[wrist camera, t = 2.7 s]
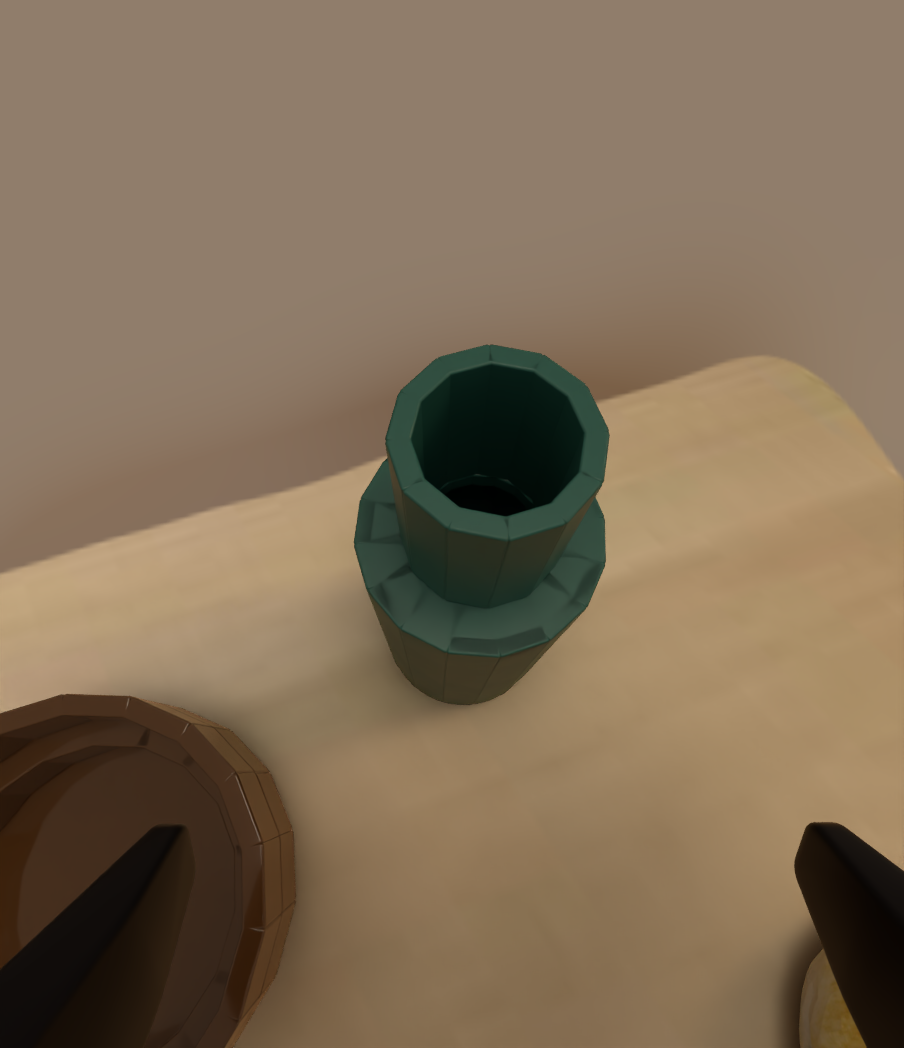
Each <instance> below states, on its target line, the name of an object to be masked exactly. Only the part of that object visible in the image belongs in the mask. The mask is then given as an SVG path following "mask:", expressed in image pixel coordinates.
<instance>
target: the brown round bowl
mask: <svg viewBox="0 0 904 1048" xmlns="http://www.w3.org/2000/svg"><path fill="white" fill-rule="evenodd" d="M158 824H184V825H186V827H187V828H188V831H189V835H190V839H191V844H192V849H193V853H194V858H195V863H196V871H195V878H194V883H193V886H192V890H191V894H190V897H189V901H188V905H187V908H186V912H185V916H184V919H183V923H182V927H181V930H180V934H179V938H178V941H177V945H176V949H175V952H174V956H173V960H172V963H171V967H170V970H169V974H168V978H167V981H166V985H165V988H164V992H163V995H162V998H161V1002H160V1005H159V1008H158V1010H157V1013H156V1016H155V1019H154V1022H153V1025H152V1027H151V1030H150V1033H149V1035H148V1038H147V1041H146V1043H145V1046H144V1048H233V1046H234V1045H235V1044H236V1042H237V1040H238V1039H239V1037H240V1035H241V1034H242V1032H243V1030H244V1029H245V1027H246V1025H247V1024H248V1022H249V1020H250V1019H251V1017H252V1015H253V1014H254V1012H255V1010H256V1009H257V1007H258V1005H259V1004H260V1002H261V1000H262V999H263V997H264V995H265V994H266V992H267V990H268V989H269V987H270V985H271V984H272V982H273V981H274V979H275V977H276V974H277V972H278V968H279V964H280V960H281V957H282V953H283V949H284V945H285V941H286V938H287V934H288V930H289V926H290V922H291V919H292V915H293V911H294V907H295V903H296V884H295V860H294V836H293V831H291V830H292V826H291V824H290V821H289V819H288V816H287V814H286V811H285V808H284V806H283V803H282V801H281V798H280V796H279V793H278V791H277V788H276V786H275V783H274V781H273V778H272V776H271V774H270V773H269V770H268V769H267V768H266V767H265V766H264V764H263V763H262V762H261V761H260V760H259V759H258V758H257V757H256V756H255V755H254V754H253V753H252V752H251V751H250V750H249V749H248V747H247V746H246V745H245V744H244V743H243V742H242V741H241V740H240V739H239V738H238V737H237V736H236V735H235V734H234V733H233V731H230V729H228V728H226V727H223V726H221V725H219V724H217V723H214V722H212V721H210V720H208V719H205V718H203V717H201V716H199V715H196V714H194V713H192V712H190V711H187V710H185V709H183V708H179V707H175V706H171V705H166V704H162V703H158V702H153V701H149V700H145V699H140V698H136V697H132V696H113V695H83V694H65V695H58V696H55V697H52V698H49V699H45V700H42V701H39V702H36V703H32V704H29V705H26V706H23V707H20V708H16V709H13V710H10V711H7V712H3V713H0V969H1V968H2V967H3V966H4V965H5V964H6V963H7V962H8V961H9V960H10V959H11V958H12V957H14V956H15V955H16V954H17V953H18V952H19V951H20V950H21V949H22V948H23V947H24V946H25V945H26V944H27V943H29V942H30V941H31V940H32V939H33V938H34V937H35V936H36V935H37V934H38V933H39V932H40V931H41V930H43V929H44V928H45V927H46V926H47V925H48V924H49V923H50V922H51V921H52V920H53V919H54V918H55V917H56V916H58V915H59V914H60V913H61V912H62V911H63V910H64V909H65V908H66V907H67V906H68V905H69V904H70V903H71V902H73V901H74V900H75V899H76V898H77V897H78V896H79V895H80V894H81V893H82V892H83V891H84V890H85V889H86V888H88V887H89V886H90V885H91V884H92V883H93V882H94V881H95V880H96V879H97V878H98V877H99V876H100V875H101V874H103V873H104V872H105V871H106V870H107V869H108V868H109V867H110V866H111V865H112V864H113V863H114V862H115V861H116V860H118V859H119V858H120V857H121V856H122V855H123V854H124V853H125V852H126V851H127V850H128V849H129V848H130V847H132V846H133V845H134V844H135V843H136V842H137V841H138V840H139V839H140V838H141V837H142V836H143V835H144V834H145V833H147V832H148V831H149V830H150V829H151V828H152V827H154V826H155V825H158Z"/></svg>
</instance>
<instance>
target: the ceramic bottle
mask: <svg viewBox="0 0 904 1048" xmlns="http://www.w3.org/2000/svg"><path fill="white" fill-rule="evenodd" d="M609 436H610V435H609V430H608V427H607V425H606V423H605V421H604V419H603V417H602V415H601V413H600V411H599V409H598V407H597V405H596V403H595V401H594V399H593V397H592V395H591V393H590V390H589V388H588V387H587V386H586V385H585V383H583V382H582V381H580V380H579V379H578V378H576V377H575V376H573V375H572V374H570V373H569V372H568V371H566V370H565V369H564V368H562V367H561V366H559V365H558V364H557V363H555V362H554V361H552V360H551V359H550V358H548V357H547V356H545V355H542V354H540V353H535V352H530V351H524V350H519V349H514V348H508V347H502V346H497V345H490V346H489V345H484V346H480V347H476V348H472V349H468V350H464V351H460V352H456V353H453V354H449V355H445V356H441V357H439V358H438V359H435V360H434V361H433V362H432V363H431V364H429V365H428V366H427V367H426V368H425V369H424V370H423V371H422V372H421V373H419V374H418V375H417V376H416V377H415V378H414V379H413V380H412V381H410V383H408V384H407V385H406V386H405V387H404V388H403V389H402V390H401V391H400V393H399V394H398V396H397V400H396V403H395V407H394V410H393V413H392V417H391V420H390V424H389V427H388V431H387V435H386V438H385V440H386V443H385V444H386V451H387V457H388V458H387V459H386V460H385V461H384V462H383V463H382V465H381V466H380V468H379V469H378V471H377V473H376V474H375V476H374V478H373V479H372V481H371V482H370V484H369V486H368V487H367V489H366V490H365V492H364V494H363V495H362V497H361V500H360V504H359V511H358V518H357V524H356V531H355V538H354V544H355V545H354V548H355V551H356V555H357V558H358V562H359V565H360V569H361V572H362V576H363V579H364V583H365V586H366V589H367V592H368V594H369V597H370V599H371V602H372V604H373V607H374V610H375V612H376V615H377V617H378V620H379V622H380V625H381V627H382V630H383V632H384V635H385V637H386V640H387V642H388V645H389V647H390V650H391V652H392V655H393V658H394V660H395V662H396V664H397V666H398V667H399V668H400V670H401V671H402V672H403V674H404V675H405V677H406V678H407V679H408V680H409V681H410V682H411V683H412V684H413V685H414V686H415V687H416V688H417V689H419V690H420V691H421V692H423V693H425V694H426V695H428V696H430V697H432V698H434V699H436V700H439V701H442V702H446V703H450V704H457V705H470V704H478V703H482V702H485V701H488V700H491V699H493V698H496V697H498V696H499V695H502V694H504V693H505V692H506V691H507V690H508V689H510V688H511V687H512V686H513V685H514V684H515V683H516V682H517V681H518V680H519V679H520V678H522V677H523V676H524V675H525V674H526V673H527V672H528V671H529V669H530V668H531V667H532V666H533V665H534V664H535V663H536V662H537V661H538V660H539V659H540V658H541V657H542V656H543V654H544V653H545V652H546V651H547V650H548V649H549V648H550V647H551V646H552V645H553V644H554V643H555V642H556V640H557V639H558V638H559V637H560V636H561V635H562V634H563V633H564V632H565V631H566V630H567V629H568V628H569V626H570V625H571V624H572V623H573V622H574V621H575V620H576V619H577V618H578V617H579V616H580V615H581V614H582V613H583V611H584V610H585V609H586V607H587V606H588V604H589V602H590V600H591V597H592V595H593V593H594V590H595V588H596V586H597V583H598V581H599V579H600V576H601V574H602V572H603V569H604V567H605V562H606V553H605V519H604V515H603V513H602V511H601V509H600V507H599V504H598V502H597V500H596V498H595V496H596V495H597V493H598V491H599V490H600V488H601V486H602V483H603V482H604V476H605V468H606V460H607V452H608V444H609Z"/></svg>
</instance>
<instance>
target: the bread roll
mask: <svg viewBox="0 0 904 1048" xmlns="http://www.w3.org/2000/svg"><path fill="white" fill-rule="evenodd" d="M799 1037H800V1047H801V1048H867V1047H866V1045H865V1043H864V1041H863V1039H862V1037H861V1035H860V1033H859V1031H858V1029H857V1027H856V1025H855V1023H854V1021H853V1019H852V1016H851V1014H850V1012H849V1010H848V1008H847V1006H846V1003H845V1001H844V999H843V997H842V995H841V992H840V990H839V987H838V985H837V982H836V980H835V978H834V975H833V972H832V970H831V967H830V965H829V962H828V959H827V957H826V954H825V952H824V949H822V950H821V951H820V953H819V954H818V955H817V956H816V957H815V958H814V960H813V961H812V962H811V964H810V966H809V969H808V971H807V974H806V978H805V982H804V986H803V989H802V995H801V1005H800V1022H799Z"/></svg>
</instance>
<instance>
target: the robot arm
mask: <svg viewBox="0 0 904 1048" xmlns="http://www.w3.org/2000/svg"><path fill="white" fill-rule="evenodd" d="M794 868H795V874H796V878H797V881H798V884H799V887H800V889H801V892H802V894H803V897H804V900H805V902H806V905H807V907H808V910H809V913H810V915H811V918H812V920H813V923H814V926H815V928H816V931H817V933H818V936H819V939H820V941H821V944H822V946H823V949H824V952H825V954H826V957H827V959H828V962H829V965H830V967H831V970H832V972H833V975H834V978H835V980H836V982H837V985H838V987H839V990H840V992H841V995H842V997H843V999H844V1001H845V1003H846V1006H847V1008H848V1010H849V1012H850V1014H851V1016H852V1019H853V1021H854V1023H855V1025H856V1027H857V1029H858V1031H859V1033H860V1035H861V1037H862V1039H863V1041H864V1043H865V1045H866V1047H867V1048H904V871H903V870H902V869H900V868H899V867H898V866H896V865H895V864H894V863H892V862H891V861H890V860H888V859H887V858H886V857H884V856H883V855H882V854H880V853H879V852H878V851H876V850H875V849H874V848H872V847H871V846H870V845H868V844H867V843H866V842H864V841H863V840H862V839H860V838H859V837H858V836H856V835H855V834H854V833H852V832H851V831H850V830H848V829H847V828H846V827H844V826H842V825H840V824H838V823H833V822H813V823H810V824H809V825H808V826H807V827H806V828H805V831H804V834H803V837H802V840H801V843H800V846H799V849H798V852H797V854H796V857H795V863H794ZM195 871H196V863H195V858H194V853H193V849H192V844H191V839H190V835H189V831H188V828H187V827H186V825H184V824H158V825H155V826H154V827H152V828H151V829H150V830H149V831H148V832H147V833H145V834H144V835H143V836H142V837H141V838H140V839H139V840H138V841H137V842H136V843H135V844H134V845H133V846H132V847H130V848H129V849H128V850H127V851H126V852H125V853H124V854H123V855H122V856H121V857H120V858H119V859H118V860H116V861H115V862H114V863H113V864H112V865H111V866H110V867H109V868H108V869H107V870H106V871H105V872H104V873H103V874H101V875H100V876H99V877H98V878H97V879H96V880H95V881H94V882H93V883H92V884H91V885H90V886H89V887H88V888H86V889H85V890H84V891H83V892H82V893H81V894H80V895H79V896H78V897H77V898H76V899H75V900H74V901H73V902H71V903H70V904H69V905H68V906H67V907H66V908H65V909H64V910H63V911H62V912H61V913H60V914H59V915H58V916H56V917H55V918H54V919H53V920H52V921H51V922H50V923H49V924H48V925H47V926H46V927H45V928H44V929H43V930H41V931H40V932H39V933H38V934H37V935H36V936H35V937H34V938H33V939H32V940H31V941H30V942H29V943H27V944H26V945H25V946H24V947H23V948H22V949H21V950H20V951H19V952H18V953H17V954H16V955H15V956H14V957H12V958H11V959H10V960H9V961H8V962H7V963H6V964H5V965H4V966H3V967H2V968H1V969H0V1048H144V1046H145V1043H146V1041H147V1038H148V1035H149V1033H150V1030H151V1027H152V1025H153V1022H154V1019H155V1016H156V1013H157V1010H158V1008H159V1005H160V1002H161V998H162V995H163V992H164V988H165V985H166V981H167V978H168V974H169V970H170V967H171V963H172V960H173V956H174V952H175V949H176V945H177V941H178V938H179V934H180V930H181V927H182V923H183V919H184V916H185V912H186V908H187V905H188V901H189V897H190V894H191V890H192V886H193V883H194V878H195Z"/></svg>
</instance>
